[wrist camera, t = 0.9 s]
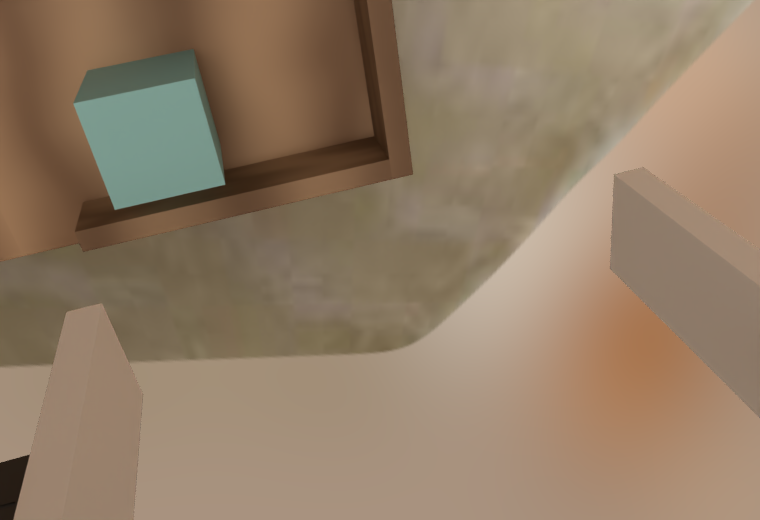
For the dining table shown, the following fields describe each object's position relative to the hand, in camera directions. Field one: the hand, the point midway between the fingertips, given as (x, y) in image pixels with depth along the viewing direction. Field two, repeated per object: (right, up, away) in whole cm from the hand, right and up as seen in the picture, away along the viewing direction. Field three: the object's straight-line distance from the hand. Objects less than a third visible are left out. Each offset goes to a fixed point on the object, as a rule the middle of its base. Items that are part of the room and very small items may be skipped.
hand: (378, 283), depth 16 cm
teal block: (-10, +7, +14) cm, 19 cm away
